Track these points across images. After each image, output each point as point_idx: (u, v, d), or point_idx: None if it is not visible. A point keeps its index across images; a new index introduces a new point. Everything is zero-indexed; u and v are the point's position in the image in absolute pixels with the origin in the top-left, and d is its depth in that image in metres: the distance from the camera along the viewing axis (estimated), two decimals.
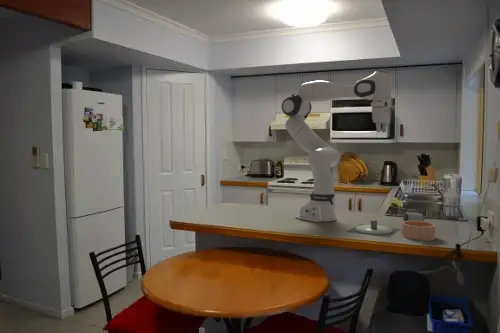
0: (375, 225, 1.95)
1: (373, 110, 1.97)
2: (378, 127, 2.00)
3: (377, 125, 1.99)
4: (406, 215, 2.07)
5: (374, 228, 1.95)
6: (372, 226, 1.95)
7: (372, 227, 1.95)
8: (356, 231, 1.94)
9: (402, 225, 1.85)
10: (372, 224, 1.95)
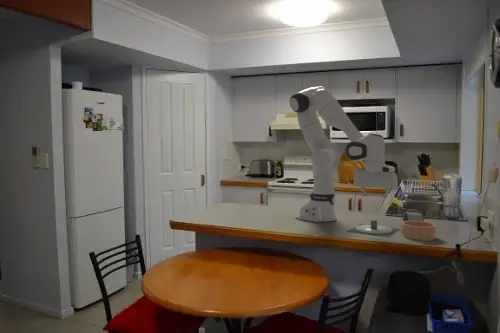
0: (375, 225, 1.95)
1: (394, 176, 1.88)
2: (387, 193, 1.91)
3: (388, 190, 1.91)
4: (406, 215, 2.07)
5: (374, 228, 1.95)
6: (372, 226, 1.95)
7: (372, 227, 1.95)
8: (356, 231, 1.94)
9: (402, 225, 1.85)
10: (372, 224, 1.95)
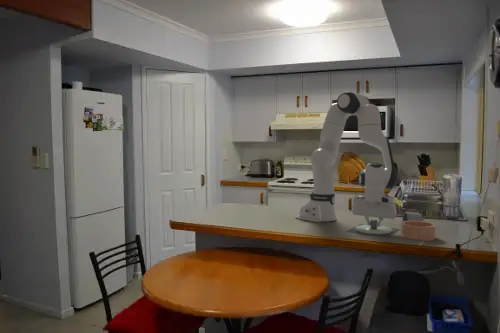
0: (375, 225, 1.95)
1: (393, 206, 1.89)
2: (380, 222, 1.94)
3: (381, 220, 1.93)
4: (405, 215, 2.08)
5: (374, 228, 1.95)
6: (372, 226, 1.95)
7: (372, 227, 1.95)
8: (356, 231, 1.94)
9: (402, 225, 1.85)
10: (372, 224, 1.95)
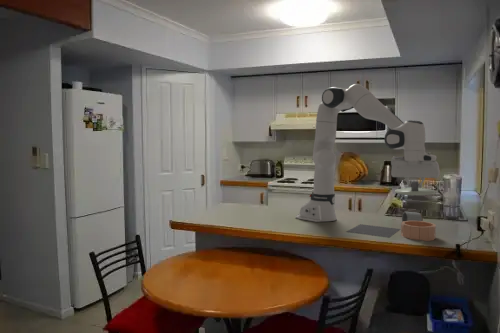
0: (416, 186, 1.83)
1: (437, 164, 1.77)
2: (422, 182, 1.83)
3: (423, 180, 1.82)
4: (405, 214, 2.09)
5: (415, 190, 1.83)
6: (413, 188, 1.83)
7: (413, 189, 1.84)
8: (356, 231, 1.94)
9: (402, 225, 1.85)
10: (413, 185, 1.83)
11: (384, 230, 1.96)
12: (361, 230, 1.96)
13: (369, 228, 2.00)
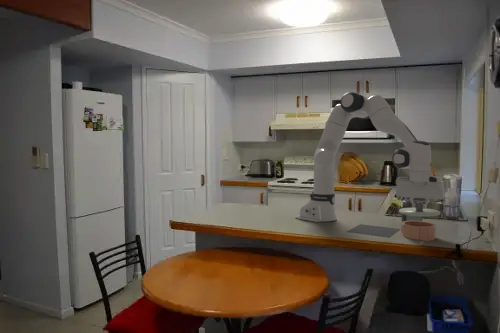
0: (421, 207, 1.83)
1: (442, 186, 1.77)
2: (427, 203, 1.82)
3: (428, 201, 1.82)
4: None
5: (420, 210, 1.83)
6: (418, 208, 1.83)
7: (418, 209, 1.83)
8: (356, 231, 1.94)
9: (402, 225, 1.85)
10: (418, 206, 1.83)
11: (384, 230, 1.96)
12: (361, 230, 1.96)
13: (369, 228, 2.00)
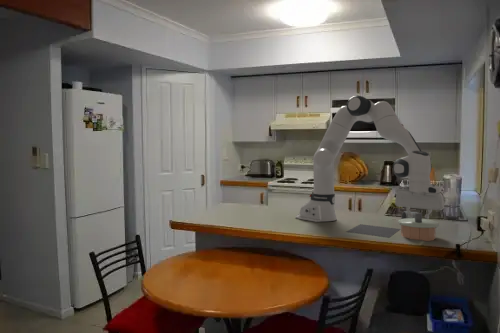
0: (420, 218, 1.83)
1: (441, 197, 1.77)
2: (429, 214, 1.82)
3: (430, 212, 1.81)
4: (404, 214, 2.10)
5: (419, 221, 1.83)
6: (417, 219, 1.83)
7: (417, 220, 1.84)
8: (356, 231, 1.94)
9: (402, 225, 1.85)
10: (417, 217, 1.83)
11: (384, 230, 1.96)
12: (361, 230, 1.96)
13: (369, 228, 2.00)
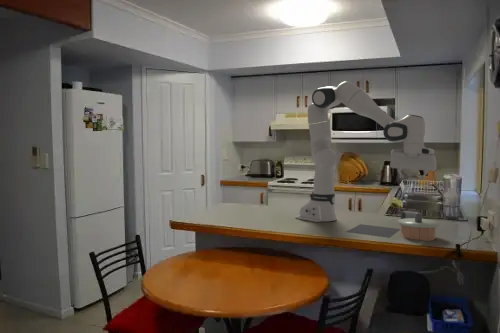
0: (420, 218, 1.83)
1: (434, 158, 1.86)
2: (425, 175, 1.90)
3: (426, 173, 1.89)
4: (403, 214, 2.10)
5: (419, 221, 1.83)
6: (417, 219, 1.83)
7: (417, 220, 1.84)
8: (356, 231, 1.94)
9: (402, 225, 1.85)
10: (417, 217, 1.83)
11: (384, 230, 1.96)
12: (361, 230, 1.96)
13: (369, 228, 2.00)
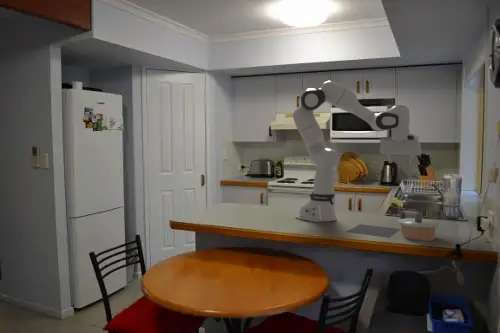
0: (420, 218, 1.83)
1: (418, 143, 2.08)
2: (411, 159, 2.12)
3: (412, 157, 2.12)
4: (403, 213, 2.11)
5: (419, 221, 1.83)
6: (417, 219, 1.83)
7: (417, 220, 1.84)
8: (356, 231, 1.94)
9: (402, 225, 1.85)
10: (417, 217, 1.83)
11: (384, 230, 1.96)
12: (361, 230, 1.96)
13: (369, 228, 2.00)
